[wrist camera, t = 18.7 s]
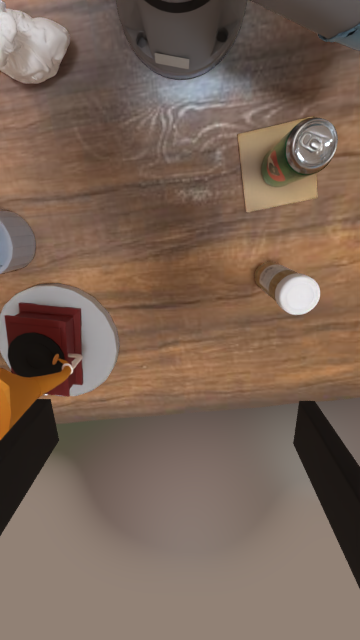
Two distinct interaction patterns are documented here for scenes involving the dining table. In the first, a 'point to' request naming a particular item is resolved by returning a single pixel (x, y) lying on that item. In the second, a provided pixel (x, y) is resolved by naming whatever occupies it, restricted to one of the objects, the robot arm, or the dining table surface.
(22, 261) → the grey cylinder
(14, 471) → the robot arm
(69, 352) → the gramophone
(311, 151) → the green can
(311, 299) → the sprinkles bottle
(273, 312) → the dining table surface
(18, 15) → the white rock
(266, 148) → the coaster
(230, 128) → the dining table surface
